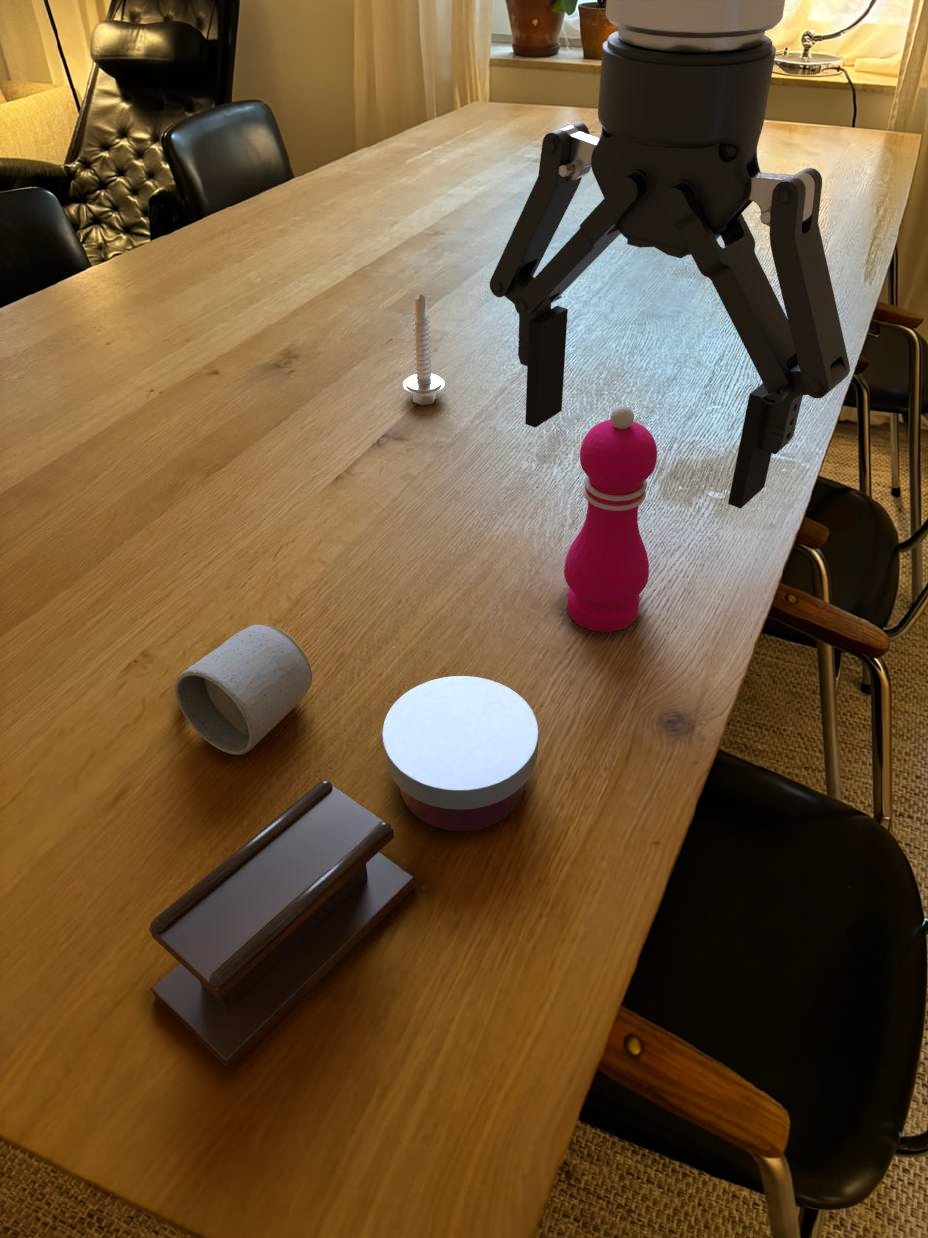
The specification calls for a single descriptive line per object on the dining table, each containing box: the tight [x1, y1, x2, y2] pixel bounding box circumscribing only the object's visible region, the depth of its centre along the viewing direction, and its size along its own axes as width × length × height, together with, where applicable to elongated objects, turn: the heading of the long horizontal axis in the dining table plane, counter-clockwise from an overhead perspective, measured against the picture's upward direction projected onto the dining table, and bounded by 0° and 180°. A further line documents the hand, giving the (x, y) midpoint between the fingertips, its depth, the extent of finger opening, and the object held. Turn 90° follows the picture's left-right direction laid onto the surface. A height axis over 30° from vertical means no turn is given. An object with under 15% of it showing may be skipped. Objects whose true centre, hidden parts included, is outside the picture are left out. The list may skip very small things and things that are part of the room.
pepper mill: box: [563, 405, 658, 633], centre depth 82 cm, size 7×7×20 cm
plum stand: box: [399, 784, 525, 832], centre depth 72 cm, size 9×9×4 cm
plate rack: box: [148, 779, 415, 1071], centre depth 61 cm, size 7×16×8 cm, turn 140°
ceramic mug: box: [174, 623, 313, 756], centre depth 76 cm, size 11×8×8 cm
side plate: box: [381, 675, 540, 810], centre depth 70 cm, size 11×11×2 cm
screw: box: [402, 293, 445, 406], centre depth 114 cm, size 13×5×5 cm
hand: (638, 454), depth 57 cm, fingers open, 13 cm apart
